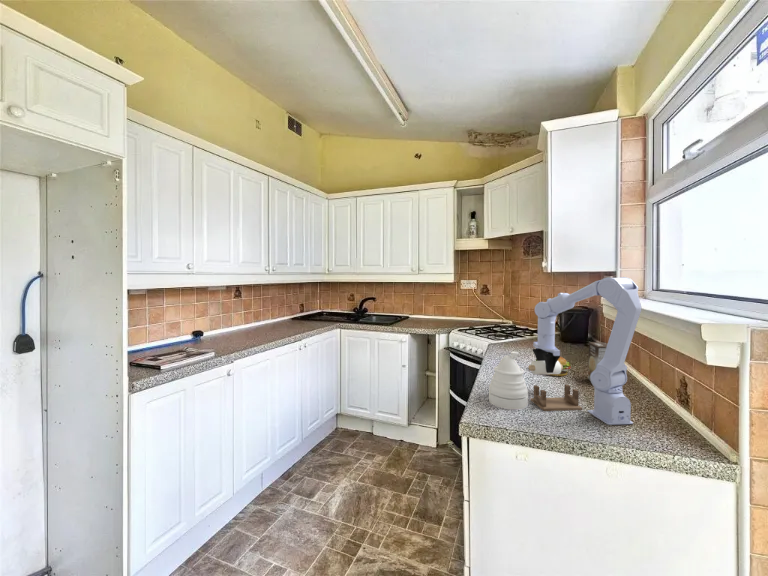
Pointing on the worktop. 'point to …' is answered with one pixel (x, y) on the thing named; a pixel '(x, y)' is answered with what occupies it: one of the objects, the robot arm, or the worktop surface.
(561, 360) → the food
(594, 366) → the coffee box
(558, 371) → the paper roll
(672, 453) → the worktop surface
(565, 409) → the holder
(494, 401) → the honey pot
